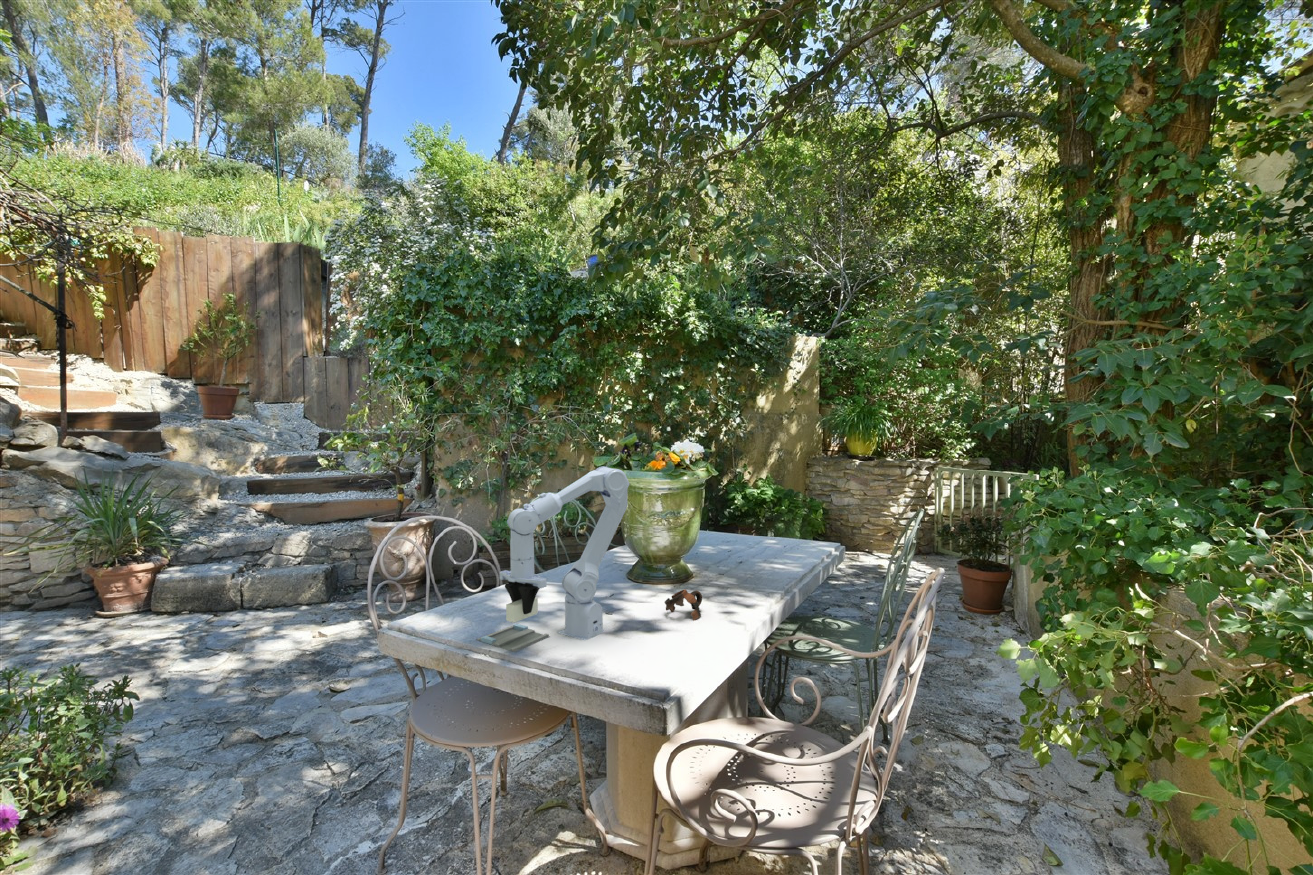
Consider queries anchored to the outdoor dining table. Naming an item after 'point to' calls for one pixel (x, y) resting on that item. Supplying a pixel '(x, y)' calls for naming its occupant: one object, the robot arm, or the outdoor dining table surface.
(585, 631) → the robot arm
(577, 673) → the outdoor dining table surface
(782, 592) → the outdoor dining table surface
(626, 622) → the outdoor dining table surface
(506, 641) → the duct plate
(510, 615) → the cream foam block
